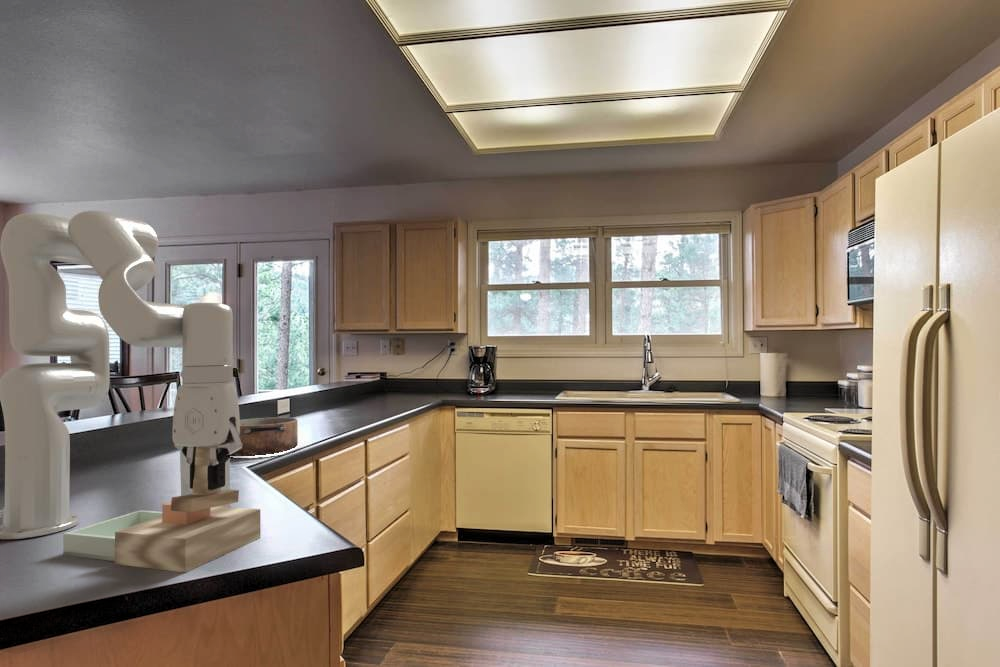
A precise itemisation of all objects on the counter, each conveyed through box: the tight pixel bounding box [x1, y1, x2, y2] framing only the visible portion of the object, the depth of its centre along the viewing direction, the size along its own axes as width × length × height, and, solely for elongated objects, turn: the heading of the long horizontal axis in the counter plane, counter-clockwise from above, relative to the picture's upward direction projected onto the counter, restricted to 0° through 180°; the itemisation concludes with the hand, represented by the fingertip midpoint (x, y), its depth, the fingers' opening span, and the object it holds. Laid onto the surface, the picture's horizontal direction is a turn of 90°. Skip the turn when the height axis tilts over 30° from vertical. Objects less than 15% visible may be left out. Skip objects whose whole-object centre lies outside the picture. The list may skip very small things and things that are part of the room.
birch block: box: [114, 506, 261, 573], centre depth 93 cm, size 14×16×5 cm
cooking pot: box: [231, 417, 299, 456], centre depth 186 cm, size 30×22×11 cm
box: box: [62, 509, 162, 562], centre depth 96 cm, size 12×14×4 cm
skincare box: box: [179, 443, 232, 507], centre depth 117 cm, size 8×6×15 cm
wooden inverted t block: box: [170, 447, 240, 512], centre depth 92 cm, size 4×10×11 cm, turn 163°
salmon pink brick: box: [161, 501, 210, 525], centre depth 93 cm, size 5×5×3 cm
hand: (207, 486), depth 92 cm, fingers closed on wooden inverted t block, 2 cm apart
